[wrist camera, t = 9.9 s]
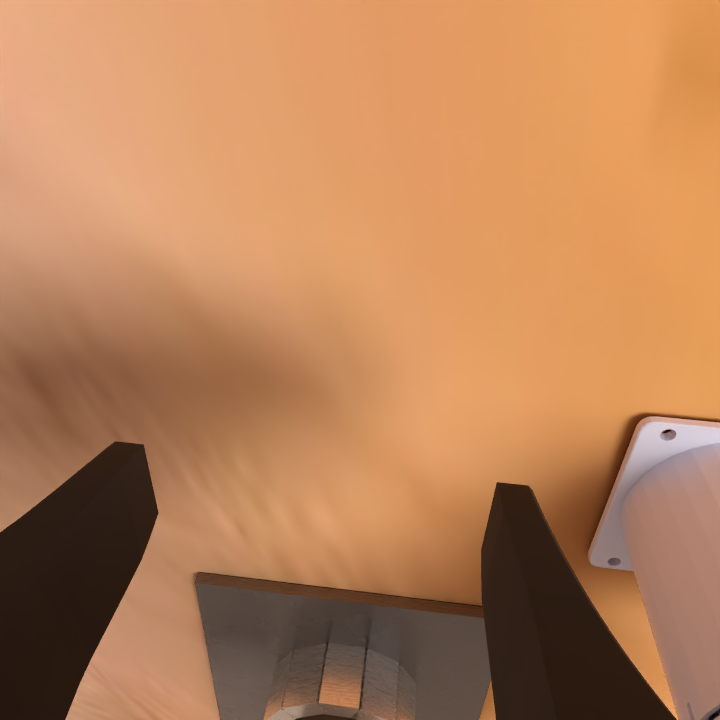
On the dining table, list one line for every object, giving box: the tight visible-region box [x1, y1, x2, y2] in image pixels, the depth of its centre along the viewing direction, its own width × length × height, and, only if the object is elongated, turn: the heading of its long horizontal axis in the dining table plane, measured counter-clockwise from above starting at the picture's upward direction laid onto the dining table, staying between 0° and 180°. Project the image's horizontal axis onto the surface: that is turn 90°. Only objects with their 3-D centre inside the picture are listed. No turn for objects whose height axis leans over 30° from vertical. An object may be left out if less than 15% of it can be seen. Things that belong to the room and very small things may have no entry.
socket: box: [195, 573, 491, 720], centre depth 32 cm, size 15×15×4 cm
